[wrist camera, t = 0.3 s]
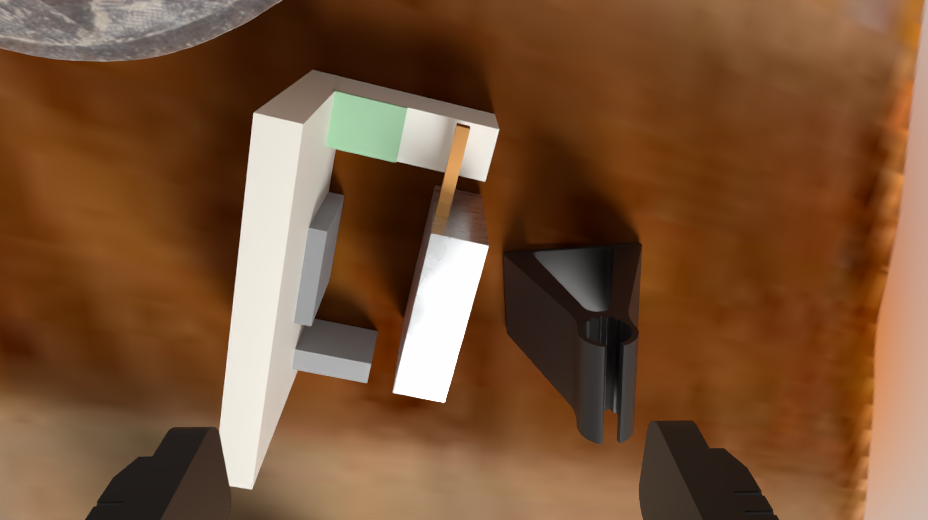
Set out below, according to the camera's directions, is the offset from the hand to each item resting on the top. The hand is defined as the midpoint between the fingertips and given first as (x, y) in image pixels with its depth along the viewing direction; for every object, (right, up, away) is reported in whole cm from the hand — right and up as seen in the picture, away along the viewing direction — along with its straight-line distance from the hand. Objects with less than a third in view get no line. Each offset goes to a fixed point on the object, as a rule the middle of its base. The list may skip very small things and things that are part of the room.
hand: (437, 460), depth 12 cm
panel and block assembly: (-6, +5, +29) cm, 30 cm away
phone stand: (+8, +2, +31) cm, 32 cm away
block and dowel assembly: (0, +6, +28) cm, 29 cm away
